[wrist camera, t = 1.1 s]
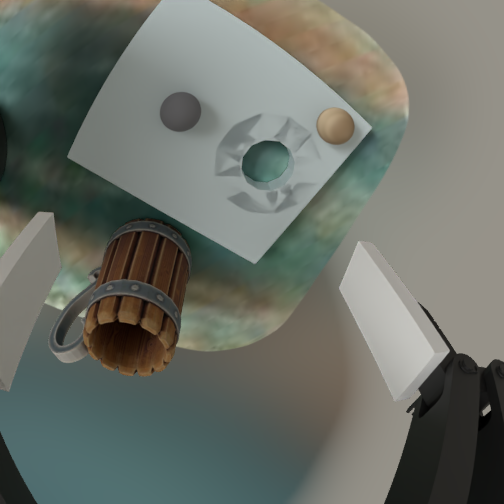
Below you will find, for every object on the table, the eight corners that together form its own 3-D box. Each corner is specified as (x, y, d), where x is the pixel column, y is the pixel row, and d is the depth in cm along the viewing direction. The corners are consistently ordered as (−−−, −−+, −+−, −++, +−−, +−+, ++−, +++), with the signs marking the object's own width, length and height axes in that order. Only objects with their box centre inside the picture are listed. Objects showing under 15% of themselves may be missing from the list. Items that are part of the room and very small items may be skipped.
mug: (175, 204, 34) (156, 292, 21) (203, 277, 40) (204, 375, 27) (63, 240, 34) (12, 325, 22) (100, 302, 40) (72, 391, 28)
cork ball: (304, 125, 28) (315, 132, 25) (327, 97, 27) (340, 102, 24) (330, 146, 30) (343, 156, 27) (352, 120, 28) (368, 128, 25)
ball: (155, 115, 26) (148, 121, 23) (177, 83, 25) (172, 85, 22) (187, 134, 28) (184, 143, 25) (209, 103, 26) (209, 108, 23)
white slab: (75, 150, 29) (66, 157, 27) (179, -11, 21) (176, -17, 19) (252, 252, 39) (255, 264, 36) (362, 123, 31) (372, 127, 29)
